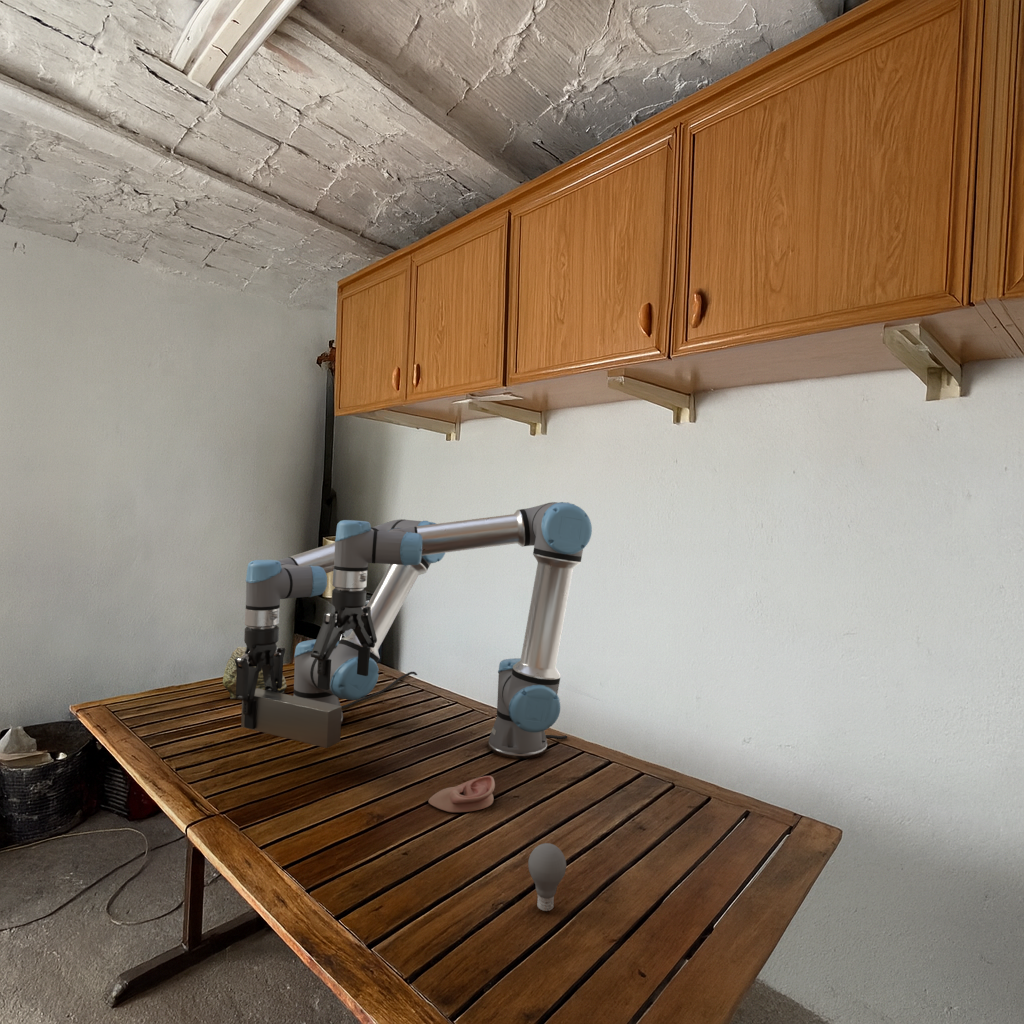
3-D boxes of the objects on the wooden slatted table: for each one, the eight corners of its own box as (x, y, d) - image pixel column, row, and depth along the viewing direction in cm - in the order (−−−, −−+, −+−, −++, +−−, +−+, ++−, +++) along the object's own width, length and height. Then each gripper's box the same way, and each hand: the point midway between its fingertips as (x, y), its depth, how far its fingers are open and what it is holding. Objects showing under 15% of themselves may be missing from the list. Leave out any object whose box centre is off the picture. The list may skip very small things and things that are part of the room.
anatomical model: (423, 789, 130) (441, 766, 141) (423, 808, 130) (440, 784, 141) (486, 798, 127) (499, 774, 139) (485, 817, 128) (498, 792, 139)
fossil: (218, 695, 195) (220, 647, 195) (278, 685, 208) (279, 640, 207) (228, 703, 189) (230, 653, 188) (289, 692, 201) (290, 645, 201)
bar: (240, 727, 149) (242, 693, 149) (256, 721, 153) (257, 688, 153) (326, 748, 139) (328, 711, 138) (340, 741, 143) (341, 705, 143)
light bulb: (524, 896, 103) (527, 835, 103) (560, 896, 103) (563, 835, 103) (528, 921, 97) (531, 856, 97) (567, 920, 97) (570, 856, 97)
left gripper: (244, 634, 140) (240, 739, 140) (301, 621, 156) (297, 715, 156) (219, 630, 143) (216, 733, 143) (277, 618, 159) (274, 710, 159)
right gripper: (325, 596, 131) (319, 698, 131) (395, 585, 153) (389, 672, 154) (297, 592, 134) (291, 691, 134) (369, 581, 156) (364, 667, 157)
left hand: (258, 723), depth 150 cm, fingers closed on bar, 5 cm apart
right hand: (343, 681), depth 144 cm, fingers open, 13 cm apart
